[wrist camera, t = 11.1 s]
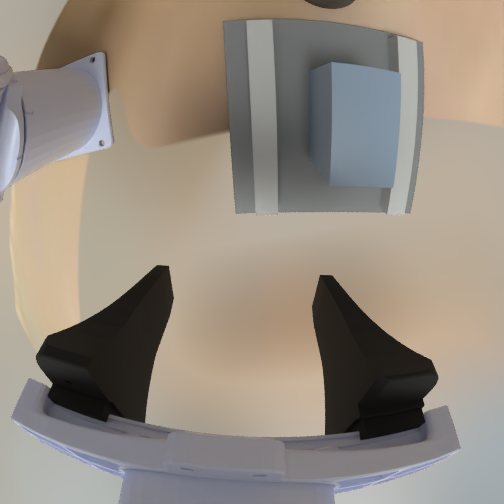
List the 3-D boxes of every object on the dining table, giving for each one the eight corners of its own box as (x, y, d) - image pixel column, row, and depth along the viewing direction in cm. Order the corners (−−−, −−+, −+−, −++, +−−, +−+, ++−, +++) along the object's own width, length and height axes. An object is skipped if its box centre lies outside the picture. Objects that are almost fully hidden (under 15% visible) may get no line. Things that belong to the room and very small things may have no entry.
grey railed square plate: (236, 208, 21) (233, 222, 19) (225, 24, 14) (220, 15, 11) (405, 208, 20) (418, 221, 18) (416, 43, 13) (433, 40, 11)
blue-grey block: (309, 157, 18) (329, 185, 13) (308, 71, 14) (331, 62, 9) (357, 159, 18) (393, 188, 12) (359, 76, 14) (400, 73, 9)
